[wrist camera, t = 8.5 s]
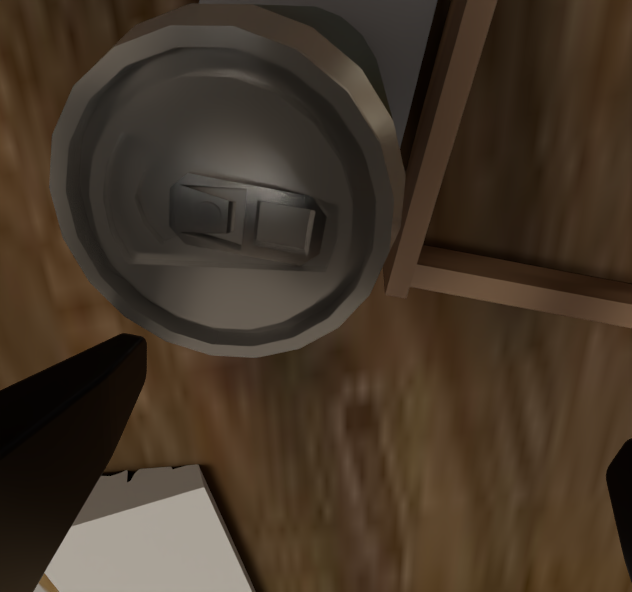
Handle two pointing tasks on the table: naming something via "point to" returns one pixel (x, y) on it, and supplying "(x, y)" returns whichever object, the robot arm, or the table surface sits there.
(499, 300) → the wooden tray
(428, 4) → the grey rubber mat
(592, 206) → the table surface
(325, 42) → the beer can
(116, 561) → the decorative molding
